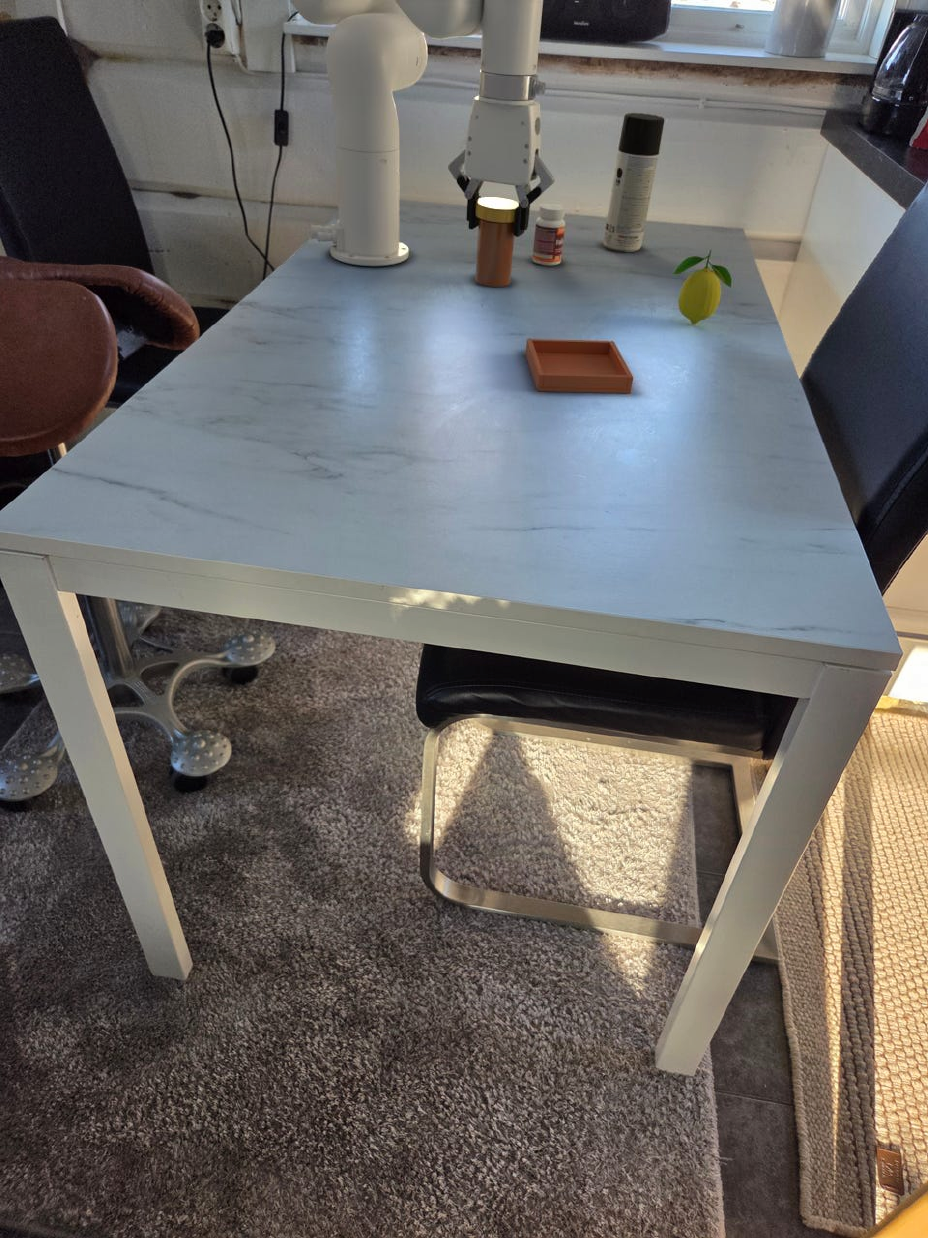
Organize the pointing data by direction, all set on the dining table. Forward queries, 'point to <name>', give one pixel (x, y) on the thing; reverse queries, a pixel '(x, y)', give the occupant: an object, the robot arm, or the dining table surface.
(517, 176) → the robot arm
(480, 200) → the jar lid
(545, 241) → the pill bottle
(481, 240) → the brown jar
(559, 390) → the tray
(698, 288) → the lemon
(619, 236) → the spray can
